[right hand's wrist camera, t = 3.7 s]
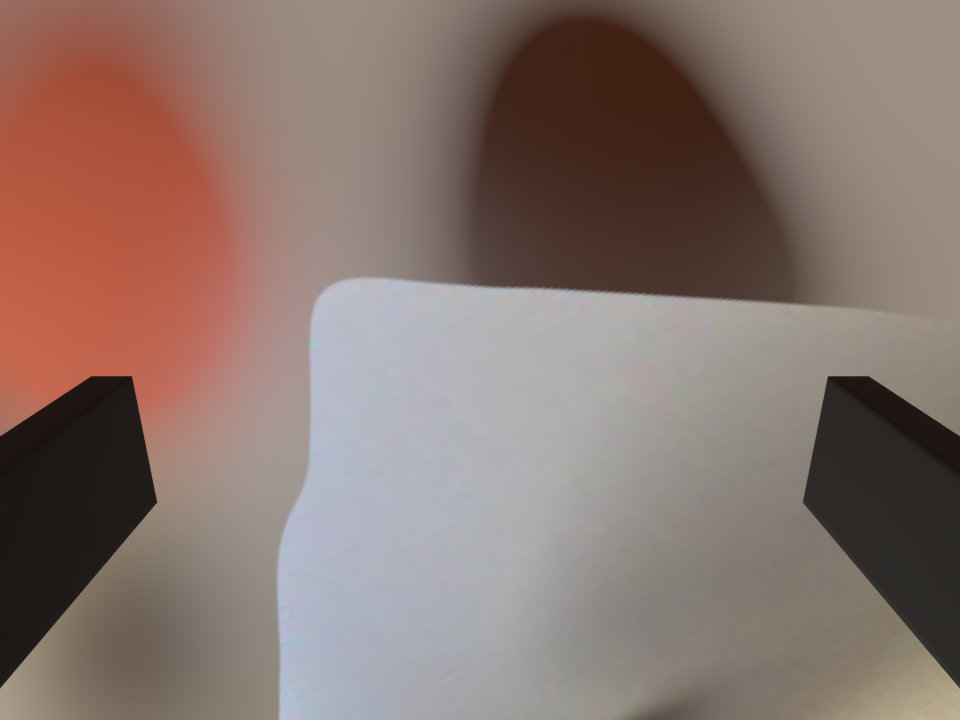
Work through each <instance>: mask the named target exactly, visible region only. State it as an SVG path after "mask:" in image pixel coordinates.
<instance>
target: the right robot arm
mask: <svg viewBox="0 0 960 720" xmlns="http://www.w3.org/2000/svg"><path fill="white" fill-rule="evenodd" d="M156 503H157V500H156V495H155V490H154V485H153V480H152V475H151V470H150V465H149V459H148V455H147V449H146V444H145V440H144V434H143V429H142V424H141V419H140V414H139V410H138V404H137V400H136V394H135V389H134V384H133V379H132V376H91V377H90V378H88V379H87V380H85V381H84V382H82V383H81V384H79V385H77V386H76V387H74V388H73V389H71V390H70V391H68V392H67V393H65V394H64V395H62V396H61V397H59V398H58V399H56V400H55V401H53V402H52V403H50V404H49V405H47V406H46V407H44V408H43V409H41V410H40V411H38V412H37V413H35V414H34V415H32V416H30V417H29V418H27V419H26V420H24V421H23V422H21V423H20V424H18V425H17V426H15V427H14V428H12V429H11V430H9V431H8V432H6V433H5V434H3V435H2V436H0V688H1V687H2V685H3V684H4V683H5V682H6V681H7V680H8V678H9V677H10V676H11V675H12V674H13V672H14V671H15V670H16V669H17V668H18V667H19V665H20V664H21V663H22V662H23V661H24V659H25V658H26V657H27V656H28V655H29V654H30V652H31V651H32V650H33V649H34V648H35V646H36V645H37V644H38V643H39V642H40V640H41V639H42V638H43V637H44V636H45V635H46V633H47V632H48V631H49V630H50V629H51V627H52V626H53V625H54V624H55V623H56V622H57V620H58V619H59V618H60V617H61V616H62V614H63V613H64V612H65V611H66V610H67V608H68V607H69V606H70V605H71V604H72V603H73V601H74V600H75V599H76V598H77V597H78V595H79V594H80V593H81V592H82V591H83V590H84V588H85V587H86V586H87V585H88V584H89V582H90V581H91V580H92V579H93V578H94V577H95V575H96V574H97V573H98V572H99V571H100V569H101V568H102V567H103V566H104V565H105V563H106V562H107V561H108V560H109V559H110V558H111V556H112V555H113V554H114V553H115V552H116V550H117V549H118V548H119V547H120V546H121V545H122V543H123V542H124V541H125V540H126V539H127V537H128V536H129V535H130V534H131V533H132V531H133V530H134V529H135V528H136V527H137V526H138V524H139V523H140V522H141V521H142V520H143V519H144V517H145V516H146V515H147V514H148V513H149V511H150V510H151V509H152V508H153V507H154V505H155V504H156ZM803 503H804V504H805V506H806V507H807V508H808V509H809V510H810V511H811V513H812V514H813V515H814V516H815V517H816V519H817V520H818V521H819V522H820V523H821V524H822V526H823V527H824V528H825V529H826V530H827V532H828V533H829V534H830V535H831V536H832V537H833V539H834V540H835V541H836V542H837V543H838V545H839V546H840V547H841V548H842V549H843V551H844V552H845V553H846V554H847V555H848V556H849V558H850V559H851V560H852V561H853V562H854V564H855V565H856V566H857V567H858V568H859V569H860V571H861V572H862V573H863V574H864V575H865V577H866V578H867V579H868V580H869V581H870V582H871V584H872V585H873V586H874V587H875V588H876V590H877V591H878V592H879V593H880V594H881V595H882V597H883V598H884V599H885V600H886V601H887V603H888V604H889V605H890V606H891V607H892V609H893V610H894V611H895V612H896V613H897V614H898V616H899V617H900V618H901V619H902V620H903V622H904V623H905V624H906V625H907V626H908V627H909V629H910V630H911V631H912V632H913V633H914V635H915V636H916V637H917V638H918V639H919V640H920V642H921V643H922V644H923V645H924V646H925V648H926V649H927V650H928V651H929V652H930V654H931V655H932V656H933V657H934V658H935V659H936V661H937V662H938V663H939V664H940V665H941V667H942V668H943V669H944V670H945V671H946V672H947V674H948V675H949V676H950V677H951V678H952V680H953V681H954V682H955V683H956V684H957V685H958V687H959V688H960V436H958V435H957V434H955V433H954V432H952V431H951V430H949V429H948V428H946V427H945V426H943V425H942V424H940V423H939V422H937V421H936V420H934V419H933V418H931V417H930V416H928V415H927V414H925V413H923V412H922V411H920V410H919V409H917V408H916V407H914V406H913V405H911V404H910V403H908V402H907V401H905V400H904V399H902V398H901V397H899V396H898V395H896V394H895V393H893V392H892V391H890V390H889V389H887V388H886V387H884V386H883V385H881V384H879V383H878V382H876V381H875V380H873V379H872V378H870V377H869V376H828V379H827V384H826V389H825V394H824V399H823V404H822V409H821V414H820V419H819V424H818V429H817V434H816V439H815V444H814V449H813V454H812V459H811V464H810V470H809V475H808V480H807V485H806V490H805V495H804V500H803Z"/></svg>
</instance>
